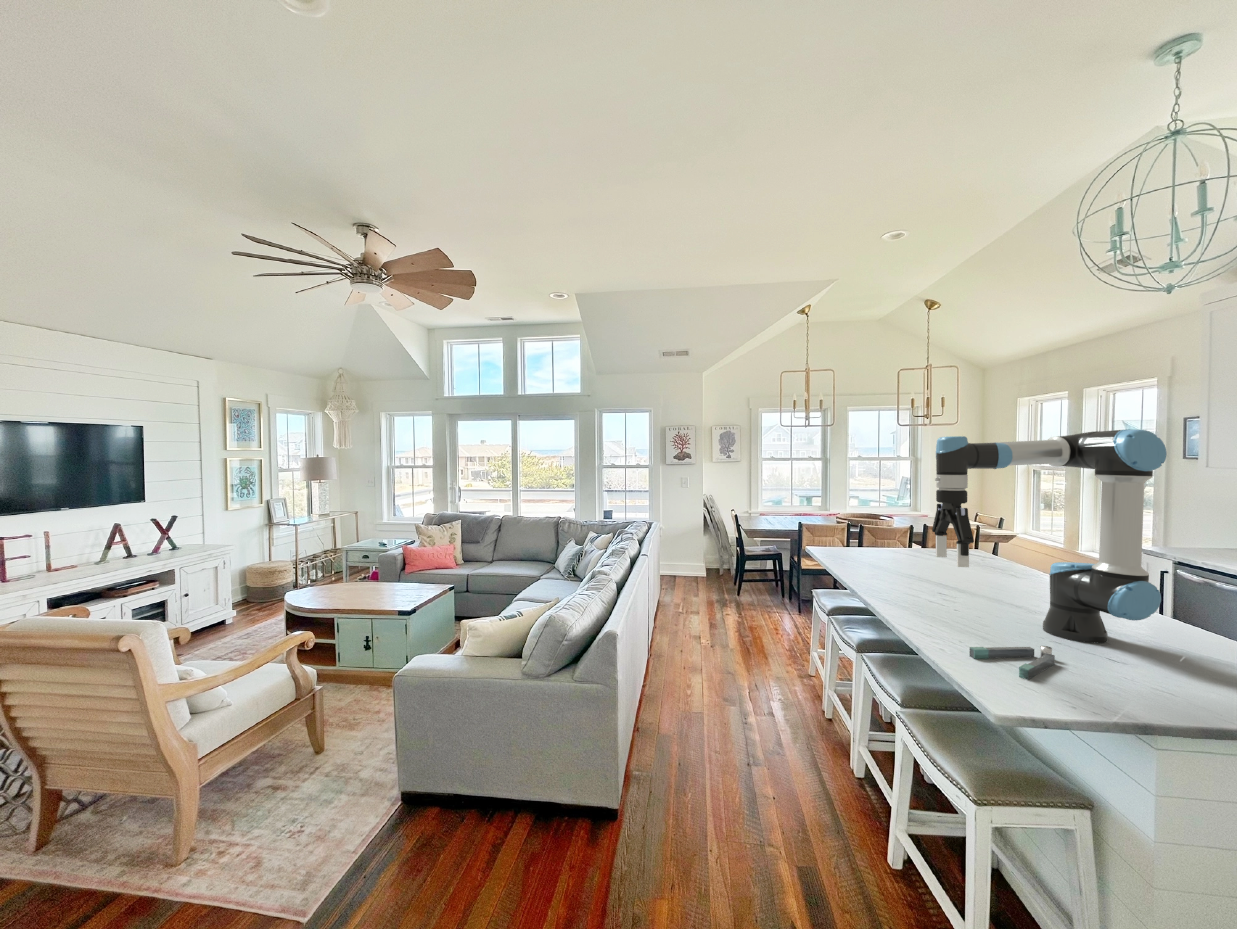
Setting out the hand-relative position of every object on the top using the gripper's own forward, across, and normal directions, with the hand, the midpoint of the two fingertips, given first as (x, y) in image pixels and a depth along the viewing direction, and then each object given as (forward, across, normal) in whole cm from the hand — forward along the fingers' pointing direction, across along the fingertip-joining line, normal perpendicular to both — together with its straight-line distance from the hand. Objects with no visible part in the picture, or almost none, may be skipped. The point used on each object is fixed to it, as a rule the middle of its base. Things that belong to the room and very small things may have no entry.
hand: (951, 561), depth 142 cm
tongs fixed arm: (+26, +2, +14) cm, 30 cm away
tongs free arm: (+26, +10, +16) cm, 33 cm away
